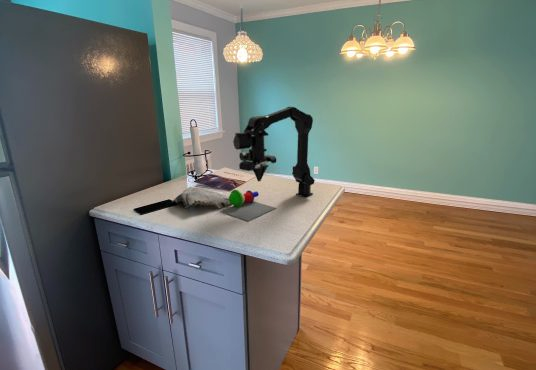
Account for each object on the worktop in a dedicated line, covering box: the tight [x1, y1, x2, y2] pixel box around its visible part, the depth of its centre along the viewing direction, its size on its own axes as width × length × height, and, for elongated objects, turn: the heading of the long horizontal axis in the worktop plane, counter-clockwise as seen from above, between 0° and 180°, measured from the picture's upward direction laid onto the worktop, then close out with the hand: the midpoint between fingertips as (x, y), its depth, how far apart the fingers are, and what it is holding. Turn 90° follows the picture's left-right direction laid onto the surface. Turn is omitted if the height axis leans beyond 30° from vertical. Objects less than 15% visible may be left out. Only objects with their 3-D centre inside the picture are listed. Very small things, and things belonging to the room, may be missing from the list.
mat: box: [219, 201, 277, 223], centre depth 133 cm, size 18×17×1 cm
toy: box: [228, 189, 259, 207], centre depth 138 cm, size 8×8×15 cm
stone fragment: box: [170, 186, 233, 209], centre depth 143 cm, size 25×29×6 cm
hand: (259, 181), depth 135 cm, fingers closed
